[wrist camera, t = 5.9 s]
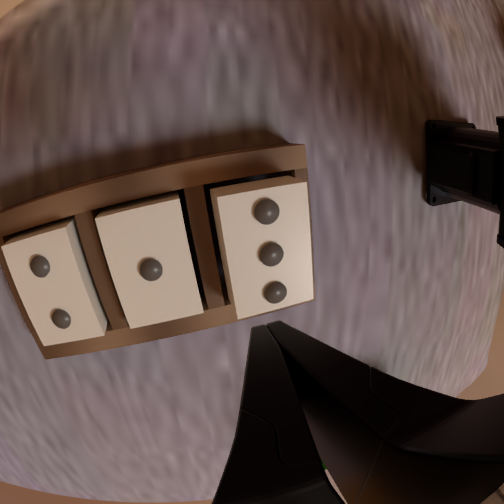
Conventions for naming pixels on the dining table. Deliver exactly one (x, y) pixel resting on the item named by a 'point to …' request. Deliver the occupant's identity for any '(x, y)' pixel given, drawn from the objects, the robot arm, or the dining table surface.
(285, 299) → the tile three dots
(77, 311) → the tile two dots
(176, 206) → the tile one dot
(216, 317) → the walnut board
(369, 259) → the dining table surface
